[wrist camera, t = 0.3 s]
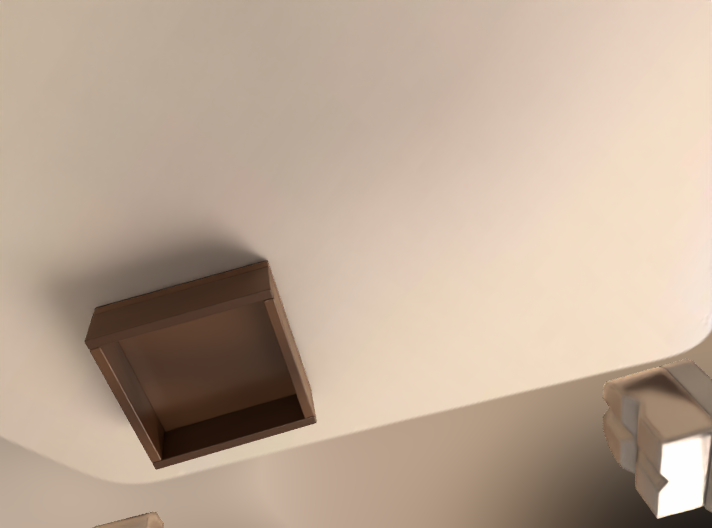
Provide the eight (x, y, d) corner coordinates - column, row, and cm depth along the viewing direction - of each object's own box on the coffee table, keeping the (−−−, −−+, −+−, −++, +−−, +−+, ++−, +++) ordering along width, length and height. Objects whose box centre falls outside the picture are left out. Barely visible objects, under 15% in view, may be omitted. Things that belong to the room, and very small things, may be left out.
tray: (94, 307, 29) (83, 341, 27) (267, 259, 30) (270, 288, 27) (160, 432, 34) (155, 470, 31) (311, 389, 34) (317, 423, 32)
